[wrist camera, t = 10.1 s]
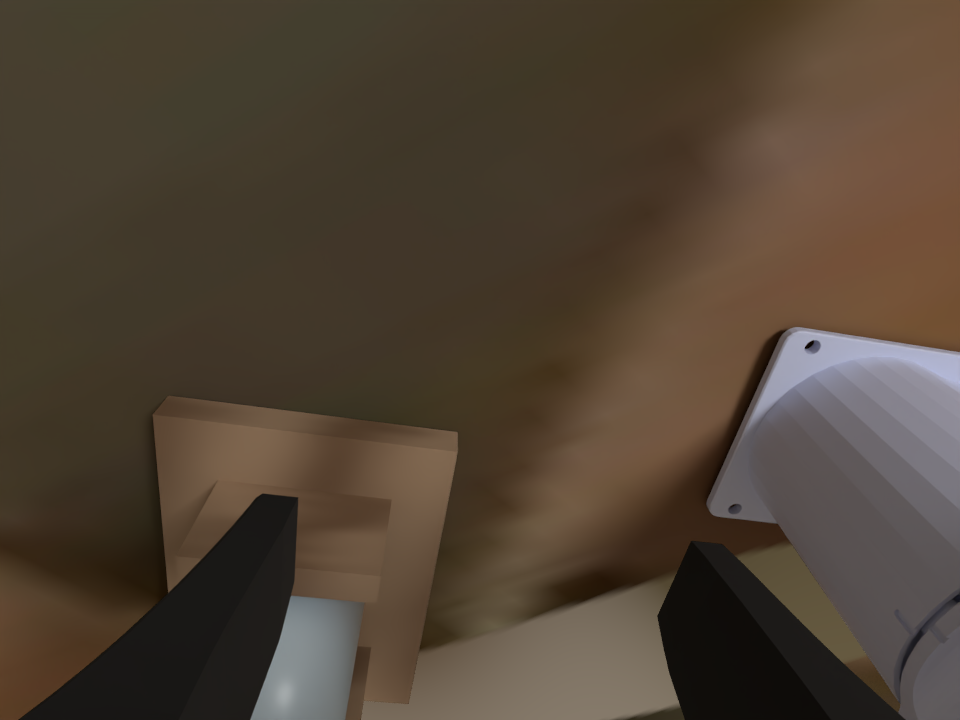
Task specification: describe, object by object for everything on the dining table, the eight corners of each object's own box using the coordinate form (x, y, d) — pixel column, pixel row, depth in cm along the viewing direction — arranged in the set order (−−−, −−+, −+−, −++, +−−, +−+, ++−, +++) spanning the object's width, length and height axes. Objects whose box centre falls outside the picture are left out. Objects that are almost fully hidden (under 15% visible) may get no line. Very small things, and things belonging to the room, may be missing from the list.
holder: (457, 432, 21) (457, 524, 17) (410, 678, 28) (402, 790, 24) (168, 395, 20) (94, 484, 16) (187, 661, 27) (137, 774, 22)
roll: (375, 541, 22) (343, 732, 16) (359, 631, 24) (325, 829, 18) (236, 523, 21) (147, 715, 15) (233, 617, 24) (154, 818, 18)
